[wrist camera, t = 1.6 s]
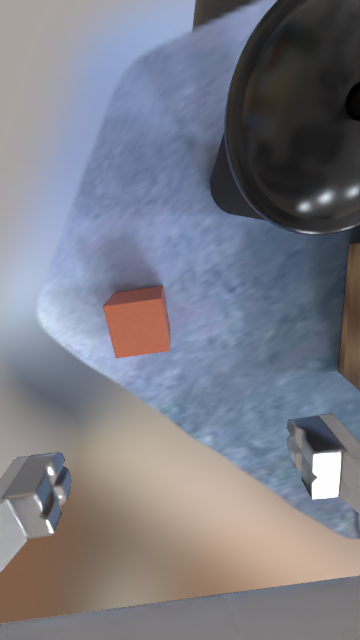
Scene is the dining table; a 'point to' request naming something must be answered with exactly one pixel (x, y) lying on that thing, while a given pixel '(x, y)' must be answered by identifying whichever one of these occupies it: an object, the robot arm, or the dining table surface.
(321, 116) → the drinking cup
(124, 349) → the block
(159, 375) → the dining table surface
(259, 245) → the dining table surface
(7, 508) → the robot arm
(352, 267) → the cabinet
